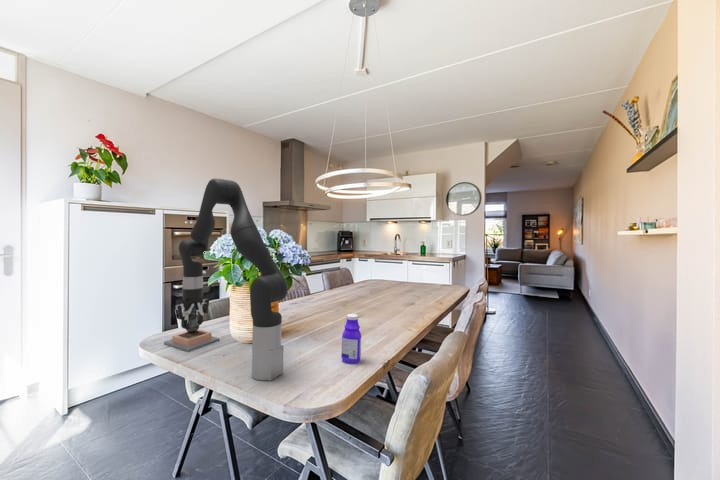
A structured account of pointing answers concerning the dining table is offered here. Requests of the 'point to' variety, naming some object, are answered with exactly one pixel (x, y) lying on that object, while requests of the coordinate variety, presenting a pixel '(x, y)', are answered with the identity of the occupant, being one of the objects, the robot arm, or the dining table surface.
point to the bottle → (351, 340)
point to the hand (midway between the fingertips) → (192, 326)
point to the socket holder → (191, 341)
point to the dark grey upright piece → (192, 323)
